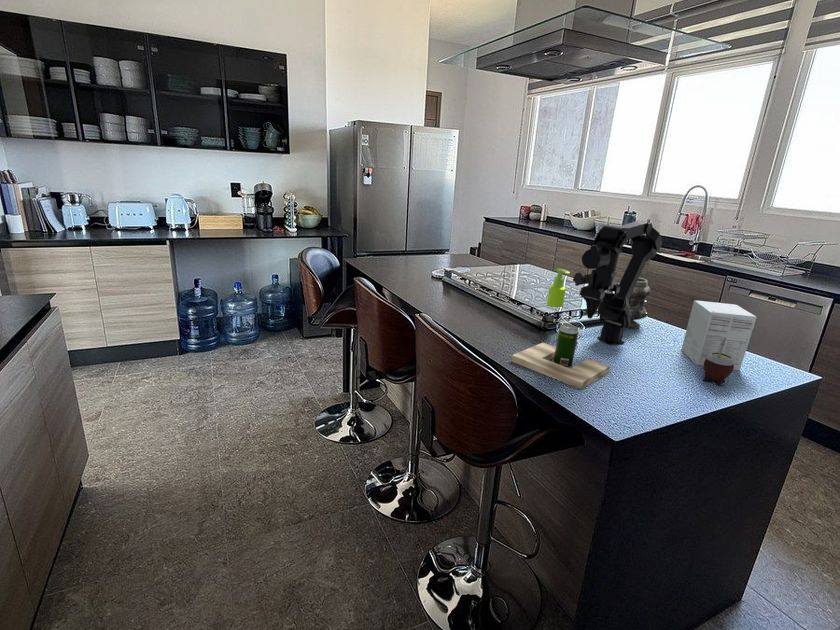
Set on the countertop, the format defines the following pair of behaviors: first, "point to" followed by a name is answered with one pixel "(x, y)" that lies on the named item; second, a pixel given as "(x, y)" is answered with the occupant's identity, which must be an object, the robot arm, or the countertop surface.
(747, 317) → the supplement box
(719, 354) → the mate gourd
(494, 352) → the countertop surface
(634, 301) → the carved stone vase
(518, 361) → the tan u-shaped bracket
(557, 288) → the soap dispenser
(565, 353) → the green drink can
